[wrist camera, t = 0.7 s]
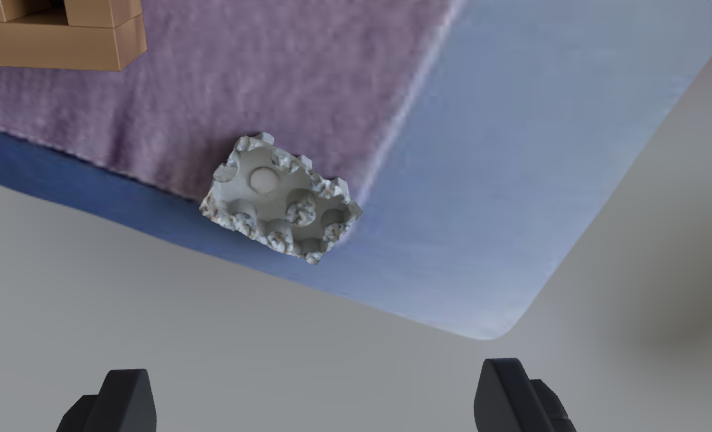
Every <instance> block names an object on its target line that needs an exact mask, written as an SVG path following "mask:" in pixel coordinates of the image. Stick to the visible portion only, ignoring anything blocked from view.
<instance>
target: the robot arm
mask: <svg viewBox="0 0 712 432" xmlns="http://www.w3.org/2000/svg"><path fill="white" fill-rule="evenodd" d="M474 417H475V422H476V426H477V430H478V432H576V429H575V428H574V426H573V424H572V422H571V420H570V419H568V415H567V413H566V411H565V409H564V407H563V405H562V404H561V402H560V400H559V398H558V396H557V395H556V394H555V393H554V392H553V391H552V390H551V389H550V388H549V387H548V386H547V385H546V384H545V383H543V382H542V381H541V380H540V379H534V380H529V378H528V376H527V374H526V372H525V370H524V368H523V366H522V364H521V362H520V361H519V360H518V359H517V358H497V359H485V361H484V363H483V366H482V370H481V375H480V379H479V383H478V387H477V392H476V396H475V400H474ZM156 419H157V418H156V410H155V405H154V401H153V395H152V392H151V386H150V381H149V376H148V373H147V370H146V369H127V370H111V371H109V372H108V374H107V376H106V378H105V380H104V382H103V385H102V387H101V389H100V392H99V394H98V395H83V396H82V397H81V398H80V399H79V400H78V401H77V402H76V403H75V404H74V405H73V406H72V407H71V408H70V409H69V410H68V411H67V413H66V414H65V415H64V416H63V418H62V420H61V422H60V424H59V427H58V429H57V431H56V432H156V422H157V420H156Z"/></svg>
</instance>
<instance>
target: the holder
mask: <svg viewBox="0 0 712 432" xmlns="http://www.w3.org/2000/svg"><path fill="white" fill-rule="evenodd" d="M64 4H65V9H64V8H51V2H50V0H0V66H7V67H30V68H52V69H75V70H98V71H121V70H123V69H124V68H125V67H126V66H128V65H129V64H130V63H131V62H133V61H134V60H135V59H136V58H138V57H139V56H140V55H141V54H143V53H144V52H145V51H146V50H147V45H146V37H145V29H144V21H143V14H142V4H141V0H64Z"/></svg>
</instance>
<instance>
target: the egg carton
mask: <svg viewBox="0 0 712 432" xmlns="http://www.w3.org/2000/svg"><path fill="white" fill-rule="evenodd" d="M273 143H274V138H273V137H272V136H271V135H270V134H268V133H265V132H261V133H260V134H259V135H257V136H255V137H248V136H244V137H240V138H239V139H238V141H237V142H236V143H235V146H234V148H233V151H232V153H231V154H230V156H229V158H228V160H227V164H225V163H222V164H221V165H220V166H219V167H218V168H217V170H216V171H215V172H214V174H213V180H212V183H211V186H210V189H209V193H208V195H207V196H206V197H205V198H204V200H203V202H202V204H201V206H200V207H199V211H200V213H201V214H202V215H204V216H207V217H208V218H209V219H210V220H211V221H213V222H215V223H218V224H220V225H221V226H222V227H224V228H227V229H229V230H232V231H235V230H238V231H240V232H241V233H243V234H244V235H246V236H247V237H248V238H250V239H255V240H257V241H259V242H261V243H263V244H265V245H267V246H268V247H270V248H271V249H273V250H275V251H278V252H281V253H284V254H288V255H293V256H295V257H302V258H305V259H306V261H307V262H308V263H310V264H315V265H317V263H318V262H319V260H320V258H321V257H322V256H323V255H324V253H326V252H329V251H330V249H331V248H332V246H333V245H334V244H335V243H336V242H337V241H338V240H339V239H340V238H341V237H342V235H343V234H345V233H346V232H347V231H348V229H349V228H350V226H351V224H352V223H353V222H354V221H356V220H357V219H358V217H359V216H360V215H361V214H362V210H361V208H360V207H359V206H358V205H357V204H356V202H355V201H354V200H353V199H352V198H351V197H349V191H348V185H347V182H345V181H344V180H342V179H340V178H339V177H337V178H335V179H333V180H331V181H330V180H324V179H323V178H322V177H321V176H320V175H319V174H318V173H317V172H315V171H314V170H312V161H311V160H310V159H309V158H307V157H305V156H304V155H300V156H298V157H297V158H296V157H295V156H293V155H292V154H290V153H288V152H286V151H284V150H281V149H279V148H277V147H275V146H274V145H273Z"/></svg>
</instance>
